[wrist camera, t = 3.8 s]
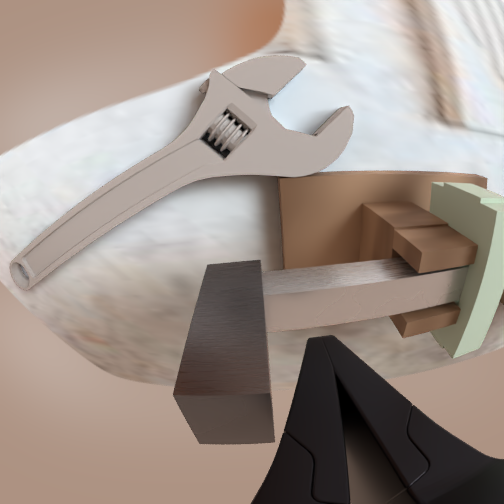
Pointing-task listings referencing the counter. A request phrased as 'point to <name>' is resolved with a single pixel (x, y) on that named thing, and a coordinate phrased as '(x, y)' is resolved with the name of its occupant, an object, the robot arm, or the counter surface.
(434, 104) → the counter surface
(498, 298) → the spacer
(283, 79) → the adjustable wrench
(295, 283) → the shaft
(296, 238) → the stand
